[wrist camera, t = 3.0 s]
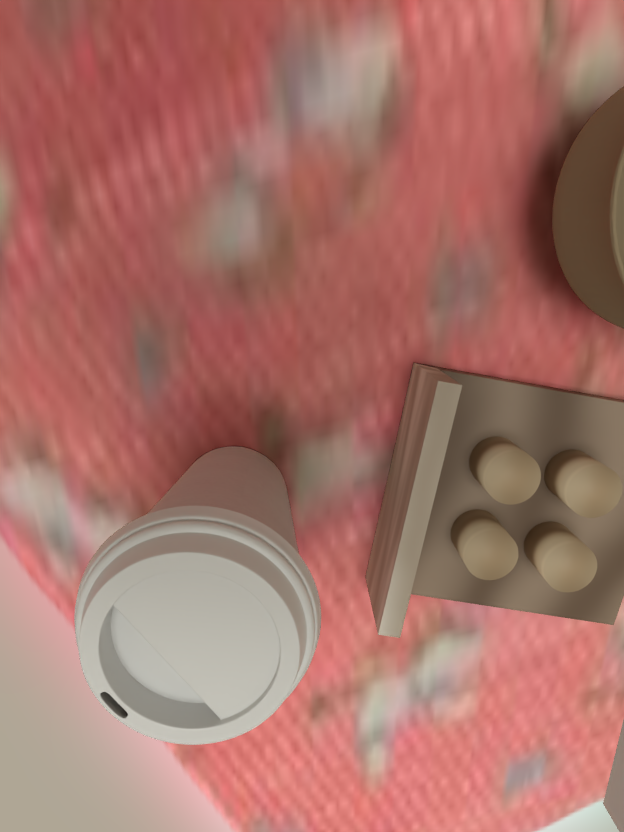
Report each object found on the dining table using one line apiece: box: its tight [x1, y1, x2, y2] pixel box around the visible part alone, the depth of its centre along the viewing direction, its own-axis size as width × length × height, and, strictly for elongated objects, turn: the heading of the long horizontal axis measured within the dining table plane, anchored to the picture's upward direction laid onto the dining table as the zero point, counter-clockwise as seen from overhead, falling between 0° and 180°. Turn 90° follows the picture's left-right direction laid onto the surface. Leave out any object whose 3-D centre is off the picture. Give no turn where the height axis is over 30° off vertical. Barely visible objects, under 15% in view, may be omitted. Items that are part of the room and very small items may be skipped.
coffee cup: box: [75, 446, 321, 745], centre depth 28 cm, size 10×10×15 cm
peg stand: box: [365, 363, 624, 638], centre depth 33 cm, size 16×14×6 cm
